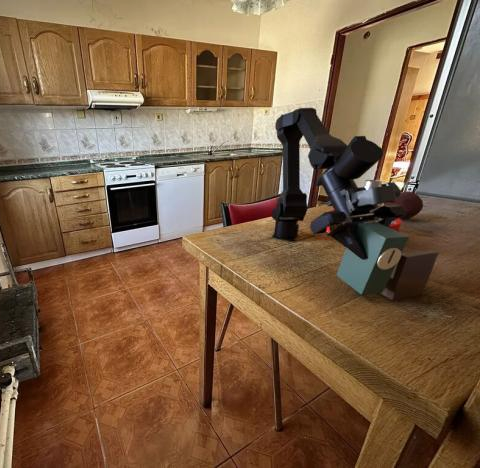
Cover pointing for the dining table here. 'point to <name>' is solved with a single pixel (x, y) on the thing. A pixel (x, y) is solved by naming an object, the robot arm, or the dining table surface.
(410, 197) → the potato
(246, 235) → the dining table surface
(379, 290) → the clock
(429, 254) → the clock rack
